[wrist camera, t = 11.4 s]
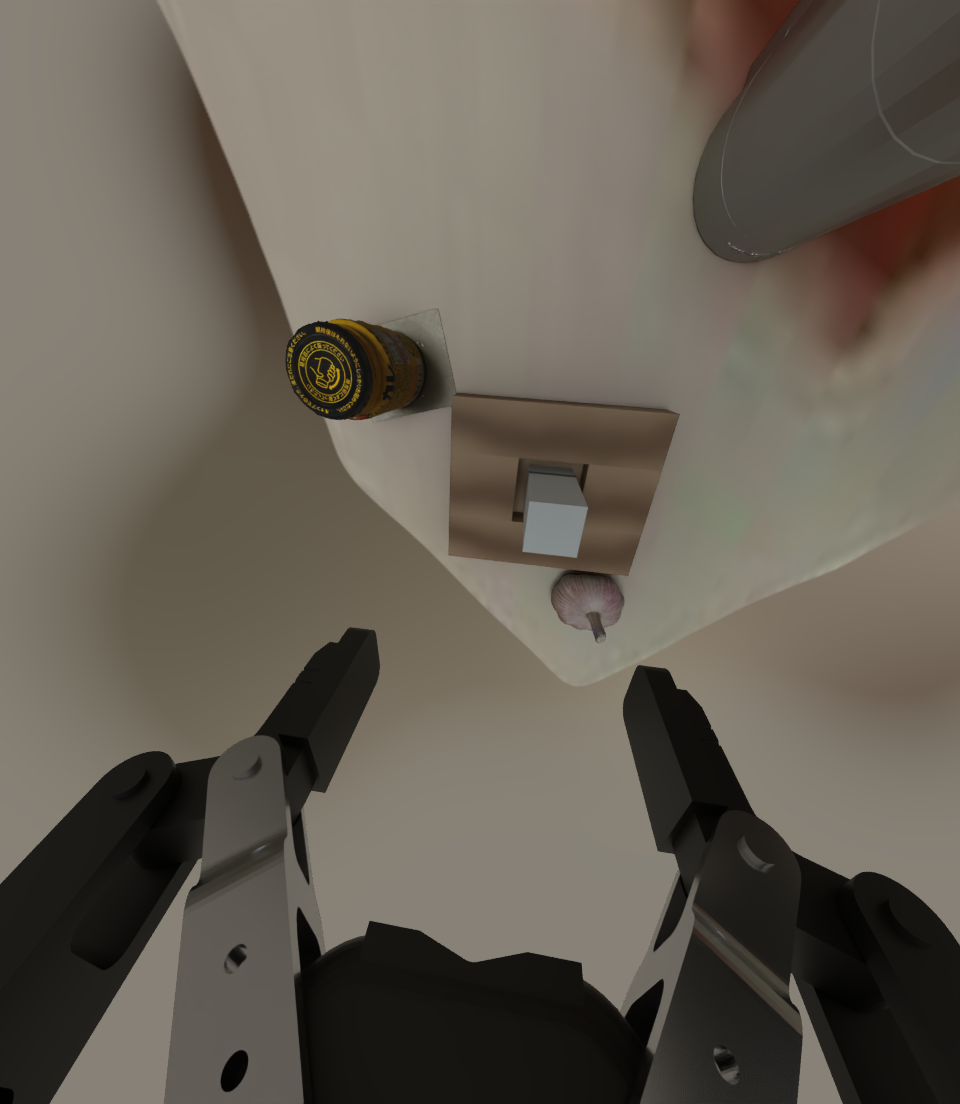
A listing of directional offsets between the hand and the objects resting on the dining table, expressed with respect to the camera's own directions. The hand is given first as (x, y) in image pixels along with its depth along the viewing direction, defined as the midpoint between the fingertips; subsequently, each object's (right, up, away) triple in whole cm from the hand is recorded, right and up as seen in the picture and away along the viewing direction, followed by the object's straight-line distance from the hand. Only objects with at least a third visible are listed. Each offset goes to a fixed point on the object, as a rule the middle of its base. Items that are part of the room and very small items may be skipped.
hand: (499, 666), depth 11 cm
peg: (+6, +10, +23) cm, 26 cm away
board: (+6, +10, +23) cm, 26 cm away
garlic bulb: (+11, -1, +29) cm, 31 cm away
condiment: (-7, +20, +20) cm, 29 cm away
